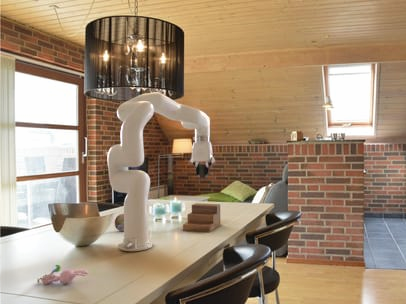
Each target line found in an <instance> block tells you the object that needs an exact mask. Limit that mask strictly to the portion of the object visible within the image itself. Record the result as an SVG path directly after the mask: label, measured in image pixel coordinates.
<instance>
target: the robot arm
mask: <svg viewBox="0 0 406 304" xmlns="http://www.w3.org/2000/svg"><path fill="white" fill-rule="evenodd" d="M154 113H157V114H159V115H161V116H162V117H165V118H167V119H169V120H170V121H175V122H181V126H182V127H183V128H184V129H186V130H194V136H193V137H192V140H193V141H194V142H193V144H192V151H191V152H192V153H191V157H190V160H189V162H190V163H191V164H193V166H194V167H195V174H196V176H199V164H201V162H205V163H204V164H206V167H205V175H207V176H208V175H209V174H210V168H211V166H212V165H213V164H214V163H216V162H217V160H216V159H215V157H214V156H213V153H214V152H213V145H212V142H211V139H210V138H211V129H210V128H211V126H210V125H211V124H210V121H211V119H210V116H208V115H207V114H206V113H205V112H204V111H202V110H200V109H199V108H197V107H193V106H190V105H186V104H182V103H179V102H177V101H175V100H173V99H172V98H170V97H168V96H167V95H165V94H163V93H161V92H158V91H154V92H145V93H142V94H139V95H137V96H134V97H133V98H131V99H129V100H127V101H125V102H122V103H121V104H120V105H119V106H118V107H117V111H116V115H117V117H118V120H119V121H121V122H122V125H121V129H120V143H117V144H114V145H112V146H111V147H110V148H109V150H108V153H107V168H108V170H107V171H108V178H109V184H110V187H111V188H112V190H113V191H115V192H117V193H123V194H126V195H125V198H124V202H123V214H124V231H123V237H124V238H122V239H123V240H122V242H121V243H118V244H117V247H118V249H120V250H121V251H124V252H141V251H145V250H149V249H151V248H152V247H153V242H151V241H149V193H150V187H151V178H150V175H149V174H148V173H147V172H145V171H144V170H139V169H129V168H137V167H140V166H142V165H143V164H144V162H145V148H144V136H143V135H144V128H145V126H146V125H147V123H148V122H149V121H150V120H151V119H152V118H153V116H154Z"/></svg>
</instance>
